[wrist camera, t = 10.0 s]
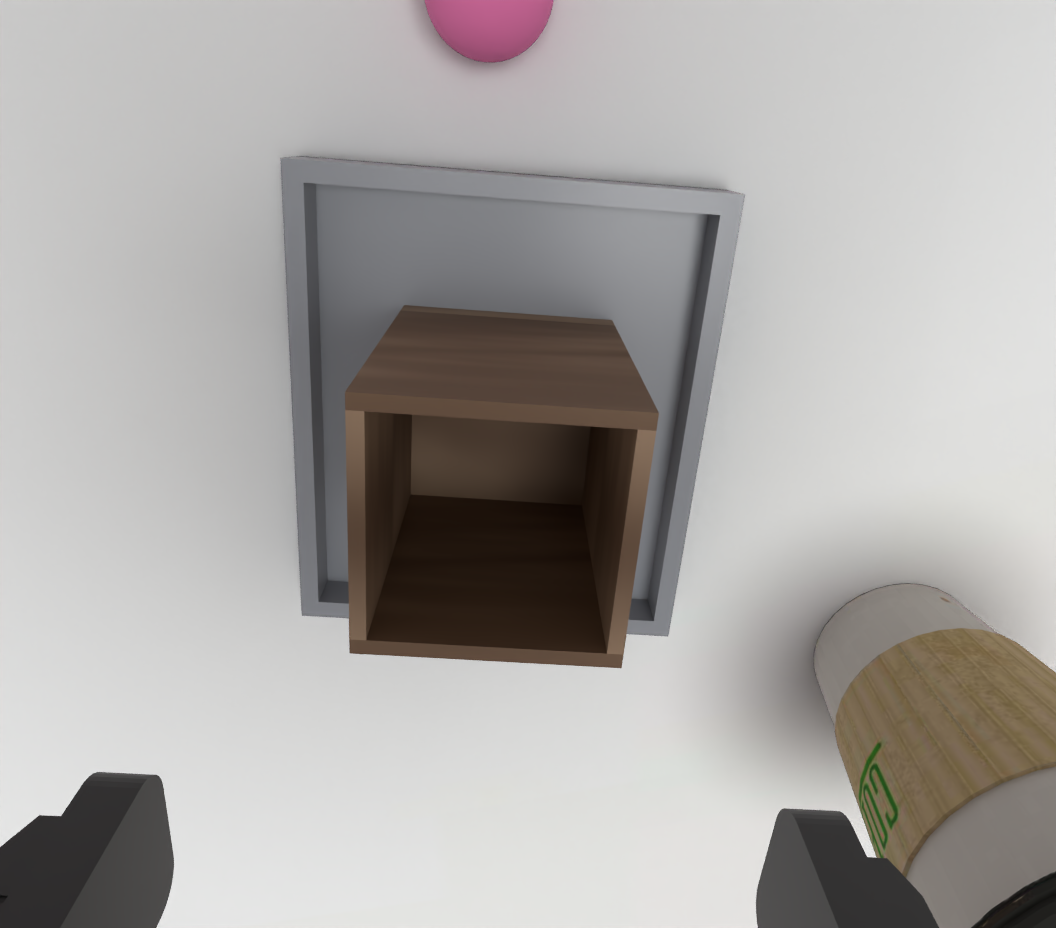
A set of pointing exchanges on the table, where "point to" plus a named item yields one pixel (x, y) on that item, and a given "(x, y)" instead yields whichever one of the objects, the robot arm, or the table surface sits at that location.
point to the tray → (501, 286)
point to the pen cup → (496, 488)
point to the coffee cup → (947, 752)
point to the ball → (489, 26)
